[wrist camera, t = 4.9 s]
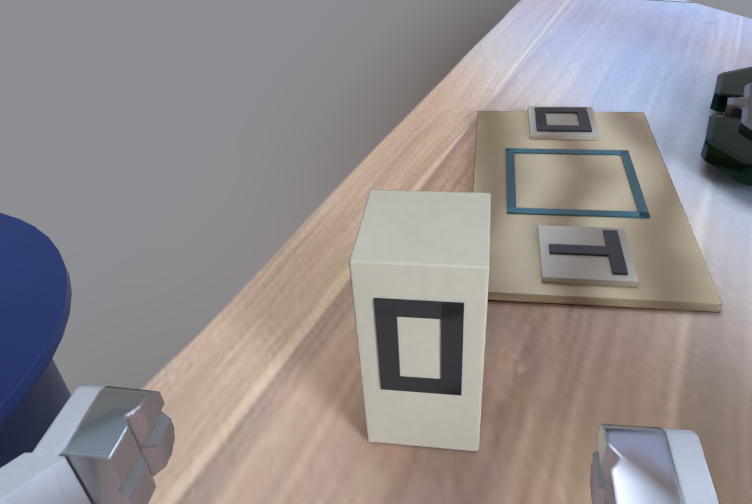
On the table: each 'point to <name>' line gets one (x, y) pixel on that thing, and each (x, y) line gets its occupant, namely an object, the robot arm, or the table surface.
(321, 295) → the table surface
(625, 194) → the word board
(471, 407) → the letter block
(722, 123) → the four-lobed dark green device
